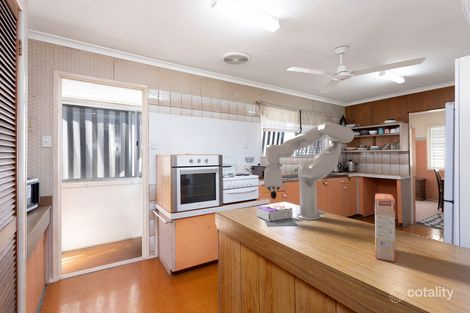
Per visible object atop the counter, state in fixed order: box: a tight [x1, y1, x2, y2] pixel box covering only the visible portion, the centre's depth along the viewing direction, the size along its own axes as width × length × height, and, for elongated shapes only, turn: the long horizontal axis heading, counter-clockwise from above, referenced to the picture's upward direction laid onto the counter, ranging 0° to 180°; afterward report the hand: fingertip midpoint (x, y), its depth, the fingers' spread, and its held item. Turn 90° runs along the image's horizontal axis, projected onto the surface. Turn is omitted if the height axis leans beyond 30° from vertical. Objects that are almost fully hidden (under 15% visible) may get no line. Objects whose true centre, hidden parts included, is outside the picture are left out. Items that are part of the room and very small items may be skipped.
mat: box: [263, 218, 299, 227], centre depth 131 cm, size 16×24×1 cm, turn 0°
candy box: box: [256, 203, 293, 221], centre depth 136 cm, size 14×6×16 cm
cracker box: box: [374, 193, 396, 263], centre depth 84 cm, size 14×6×21 cm, turn 148°
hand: (273, 198), depth 132 cm, fingers closed
